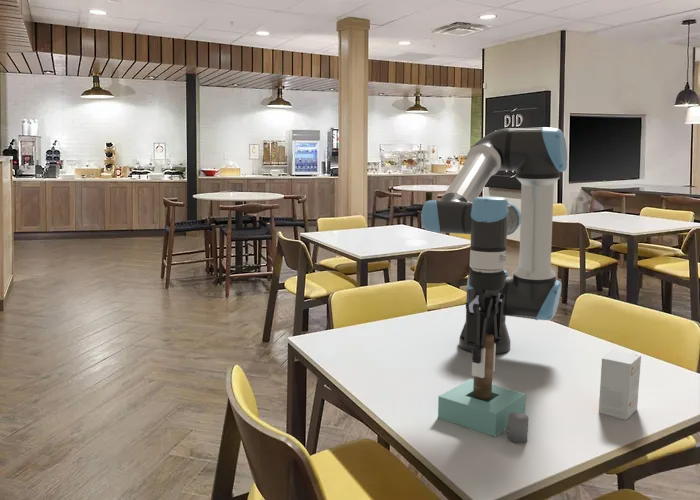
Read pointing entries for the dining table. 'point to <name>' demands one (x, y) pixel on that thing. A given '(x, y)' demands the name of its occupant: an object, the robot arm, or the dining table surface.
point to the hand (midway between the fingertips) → (483, 373)
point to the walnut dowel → (484, 385)
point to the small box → (619, 384)
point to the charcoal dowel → (518, 427)
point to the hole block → (480, 408)
